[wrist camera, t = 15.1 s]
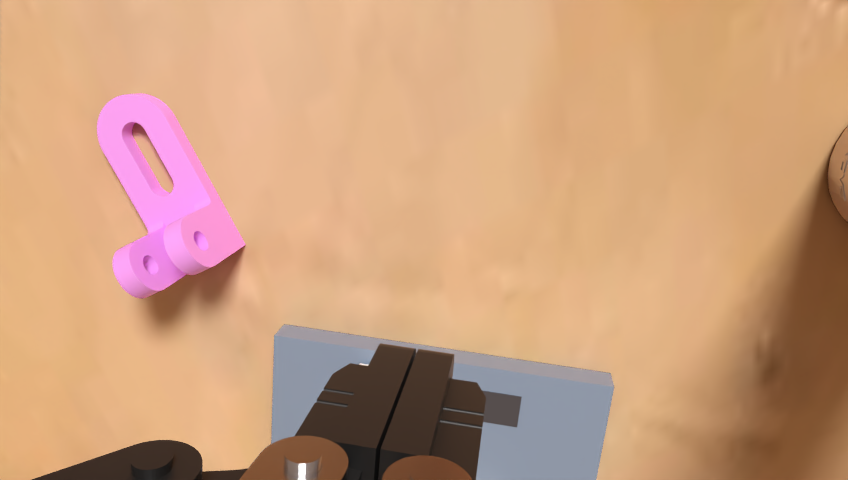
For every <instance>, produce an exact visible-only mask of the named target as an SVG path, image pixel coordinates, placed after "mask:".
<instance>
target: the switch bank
mask: <svg viewBox="0 0 848 480" xmlns="http://www.w3.org/2000/svg"><path fill="white" fill-rule="evenodd" d="M380 343H382V344H389V345H396V346H402V347H409V348H416V352H417V351H418V349H423V350H430V351H437V352H444V353H450V354H454V368H453V377H452V379H458V380H464V381H471V382H477V383H478V385H479V387H480V388H481V390H482V392H483V393H484V395H485V397H486V403H485V411H484V419H483V426H482V434H481V442H480V450H479V458H478V466H477V474H476V480H596V478H597V473H598V467H599V462H600V457H601V452H602V447H603V442H604V436H605V431H606V426H607V421H608V416H609V411H610V405H611V400H612V395H613V390H614V385H613V381H612V377H611V373H605V372H599V371H592V370H585V369H579V368H572V367H565V366H559V365H552V364H545V363H539V362H532V361H525V360H519V359H512V358H505V357H499V356H492V355H485V354H479V353H472V352H465V351H459V350H452V349H445V348H438V347H432V346H425V345H418V344H412V343H405V342H398V341H392V340H385V339H378V338H372V337H365V336H358V335H352V334H345V333H338V332H332V331H325V330H318V329H312V328H305V327H298V326H292V325H285V324H284V325H283V326H282V327H281V328H280V330H279V331H278V332H277V333H276V334H275V335H274V367H273V404H272V440H271V444H272V443H274V442H276V441H279V440H281V439H284V438H288V437H294V436H295V434H296V433H297V431H298V430H299V428H300V426H301V425H302V423H303V421H304V420H305V418H306V416H307V415H308V413H309V412H310V410H311V408H312V407H313V405H314V403H316V402H317V398H318V397H319V395H320V394H321V392H322V391H324V387H325V385H326V384H327V382H328V381H329V379H330V377H331V376H332V374H333V373H335V372H336V371H338V370H340V369H341V368H343V367H345V366H346V365H348V364H350V363H352V364H360V363H362V364H368V365H369V363H370V361H371V359H372V357H373V355H374V353H375V351H376V350H377V348H378V346H379V344H380Z"/></svg>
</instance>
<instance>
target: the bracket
mask: <svg viewBox="0 0 848 480" xmlns="http://www.w3.org/2000/svg"><path fill="white" fill-rule="evenodd" d="M135 123H138V124H140V125H141V126H142V127H143V128H144V129H145V131H146V133H147V135H148V137H149V138H150V140H151V142H152V144H153V145H154V147H155V149H156V151H157V153H158V154H159V156H160V158H161V160H162V162H163V163H164V165H165V167H166V169H167V170H168V172H169V174H170V176H171V178H172V180H173V183H174V188H173V191H172V192H171V193H169V192H167V191H165V190H164V189H163V188H162V187H161V186H160V184H159V182H158V180H157V179H156V177H155V175H154V173H153V172H152V170H151V168H150V166H149V164H148V163H147V161H146V159H145V157H144V156H143V154H142V152H141V150H140V149H139V147H138V145H137V143H136V141H135V140H134V138H133V135H132V128H133V126H134V124H135ZM97 136H98V140H99V144H100V146H101V149H102V151H103V152H104V154H105V156H106V158H107V159H108V161H109V163H110V165H111V166H112V168H113V170H114V172H115V173H116V175H117V177H118V178H119V180H120V182H121V184H122V185H123V187H124V189H125V191H126V192H127V194H128V196H129V198H130V199H131V201H132V203H133V205H134V206H135V208H136V210H137V211H138V213H139V215H140V217H141V218H142V220H143V222H144V224H145V225H146V227H147V229H148V235H146V236H144V237H142V238H140V239H138V240H136V241H134V242H132V243H130V244H128V245H126V246H124V247H122V248H120V249H118V250H117V251H116V252H115V254H114V257H113V270H114V274H115V276H116V279H117V281H118V282H119V284H120V285H121V286H122V288H123V289H124V290H125V291H126V292H127V293H129V294H130V295H132V296H134V297H136V298H146V297H149V296H151V295H153V294H155V293H157V292H159V291H162V290H164V289H165V288H167V287H169V286H170V285H172V284H173V283H175V282H176V281H178V280H179V279H181V278H182V277H184V276H185V275H187V274H188V275H196V274H198V273H200V272H203V271H205V270H207V269H209V268H211V267H213V266H215V265H217V264H218V263H220V262H221V261H223V260H224V259H225V258H227V257H228V256H230V255H231V254H233V253H234V252H236V251H237V250H239V249H240V248H242V247H243V246H245V243H244V241H243V239H242V237H241V235H240V234H239V232H238V230H237V228H236V226H235V224H234V223H233V221H232V219H231V217H230V215H229V214H228V212H227V210H226V208H225V206H224V204H223V203H222V201H221V199H220V197H219V195H218V193H217V192H216V190H215V188H214V186H213V184H212V183H211V181H210V179H209V177H208V175H207V173H206V172H205V170H204V168H203V166H202V164H201V162H200V161H199V159H198V157H197V155H196V153H195V152H194V150H193V148H192V146H191V144H190V142H189V141H188V139H187V137H186V135H185V133H184V132H183V130H182V128H181V126H180V124H179V122H178V121H177V119H176V117H175V115H174V114H173V112H172V111H171V109H170V108H169V107H168V106H167V105H166V104H165V103H164V102H162V101H161V100H159V99H158V98H156V97H154V96H151V95H148V94H142V93H137V94H127V95H121V96H118V97H115V98H113V99H112V100H110V101H109V102H108V103H107V104H106V105H105V106H104V107H103V109H102V111H101V113H100V115H99V118H98V123H97Z"/></svg>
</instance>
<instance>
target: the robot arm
mask: <svg viewBox="0 0 848 480" xmlns="http://www.w3.org/2000/svg"><path fill="white" fill-rule="evenodd" d="M828 185H829V192H830V195H831V198H832V201H833V204H834V205H835V207H836V208H837V210H838V212H839V213H840V215H841V216H842V217H843V218H844V219H845V220H846V221H847V222H848V127H847V128H846V129H845V130H844V132H843V133H842V135H841V137H840V138H839V140H838V141H837V143H836V145H835V148H834V150H833V153H832V155H831V158H830V163H829V169H828ZM453 368H454V354H450V353H444V352H437V351H430V350H423V349H418V351H417V352H416V348H409V347H402V346H396V345H389V344H382V343H380V344H379V346H378V348H377V350H376V351H375V353H374V355H373V357H372V359H371V361H370V363H369V365H368V366H365V365H359V364H352V363H350V364H348V365H346V366H345V367H343V368H341V369H340V370H338V371H336V372H335V373H333V374H332V376H331V377H330V379H329V381H328V382H327V384H326V385H325V387H324V391H322V392H321V394H320V395H319V397H318V398H317V402H316V403H314V405H313V407H312V408H311V410H310V412H309V413H308V415H307V416H306V418H305V420H304V421H303V423H302V425H301V426H300V428H299V430H298V431H297V433H296V434H295V436H294V437H288V438H284V439H281V440H279V441H276V442H274V443H272V444H270V445H269V446H268V447H266V448H265V449H264V450H263V451H262V452H261V453H260V454H259V456H258V457H257V458H256V459H255V461H254V462H253V463H252V464H251V465H250V467H249V468H248V469H242V470H228V471H206V472H202V457H201V455H200V453H199V452H198V451H197V450H196V449H195V448H194V447H192V446H190V445H188V444H186V443H183V442H178V441H172V440H156V441H148V442H143V443H140V444H136V445H133V446H130V447H127V448H124V449H121V450H118V451H115V452H112V453H109V454H106V455H103V456H100V457H97V458H94V459H91V460H88V461H85V462H83V463H80V464H77V465H74V466H71V467H68V468H65V469H62V470H59V471H56V472H53V473H50V474H47V475H44V476H41V477H38V478H35V479H32V480H476V474H477V466H478V458H479V450H480V442H481V434H482V426H483V419H484V411H485V403H486V397H485V395H484V393H483V392H482V390H481V388H480V387H479V385H478V383H477V382H471V381H464V380H458V379H452V377H453Z"/></svg>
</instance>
